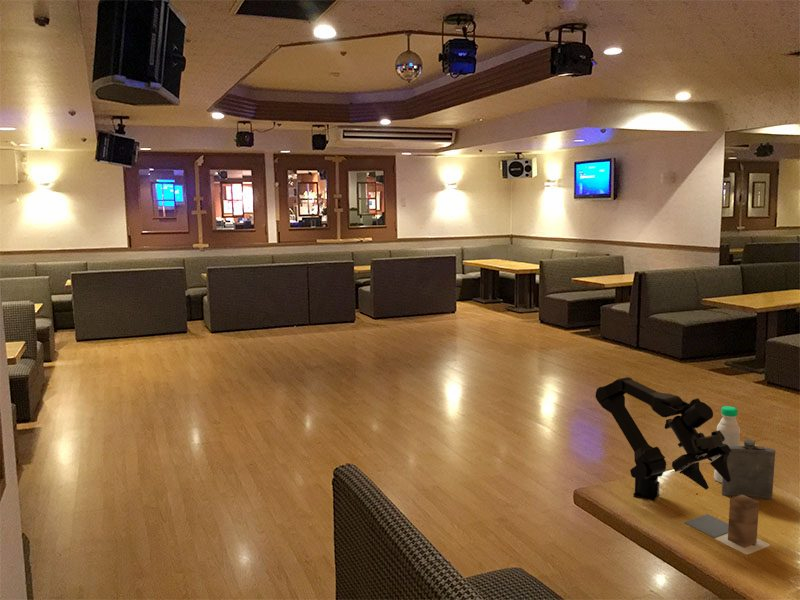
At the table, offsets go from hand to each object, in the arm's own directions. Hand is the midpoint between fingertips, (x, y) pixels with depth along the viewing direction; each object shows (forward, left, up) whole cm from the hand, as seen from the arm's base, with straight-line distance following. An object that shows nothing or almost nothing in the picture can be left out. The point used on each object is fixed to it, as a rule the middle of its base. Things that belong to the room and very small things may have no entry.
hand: (718, 485), depth 186 cm
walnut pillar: (+7, -4, -13) cm, 15 cm away
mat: (-2, +1, -13) cm, 14 cm away
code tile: (+7, -4, -13) cm, 16 cm away
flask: (+5, +28, -14) cm, 31 cm away
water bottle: (-2, +37, -14) cm, 39 cm away
